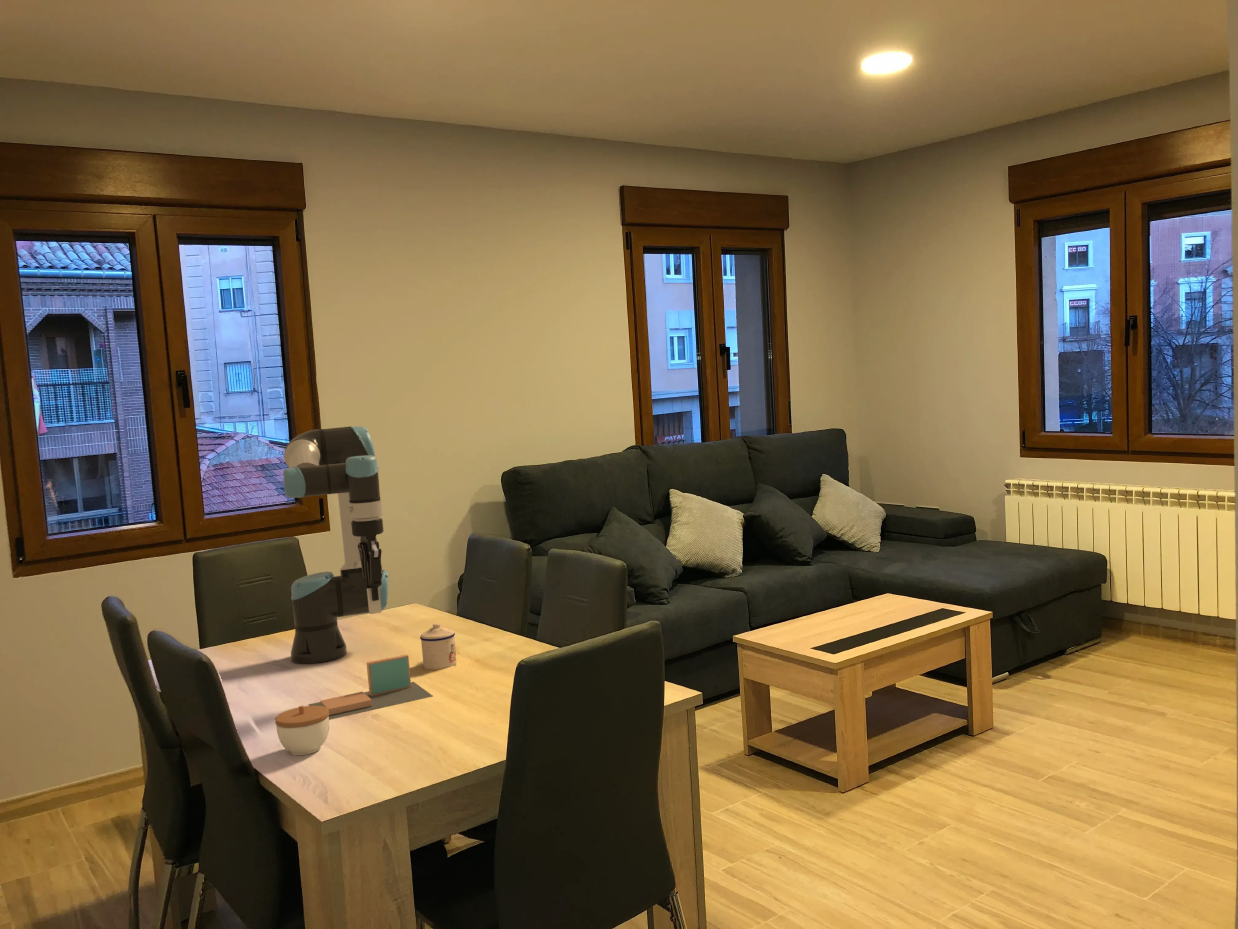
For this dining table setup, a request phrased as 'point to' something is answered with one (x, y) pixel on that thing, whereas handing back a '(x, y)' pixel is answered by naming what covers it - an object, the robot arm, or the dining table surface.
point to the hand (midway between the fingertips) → (375, 612)
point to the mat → (387, 699)
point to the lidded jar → (303, 729)
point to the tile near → (346, 703)
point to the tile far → (388, 675)
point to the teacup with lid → (438, 648)
